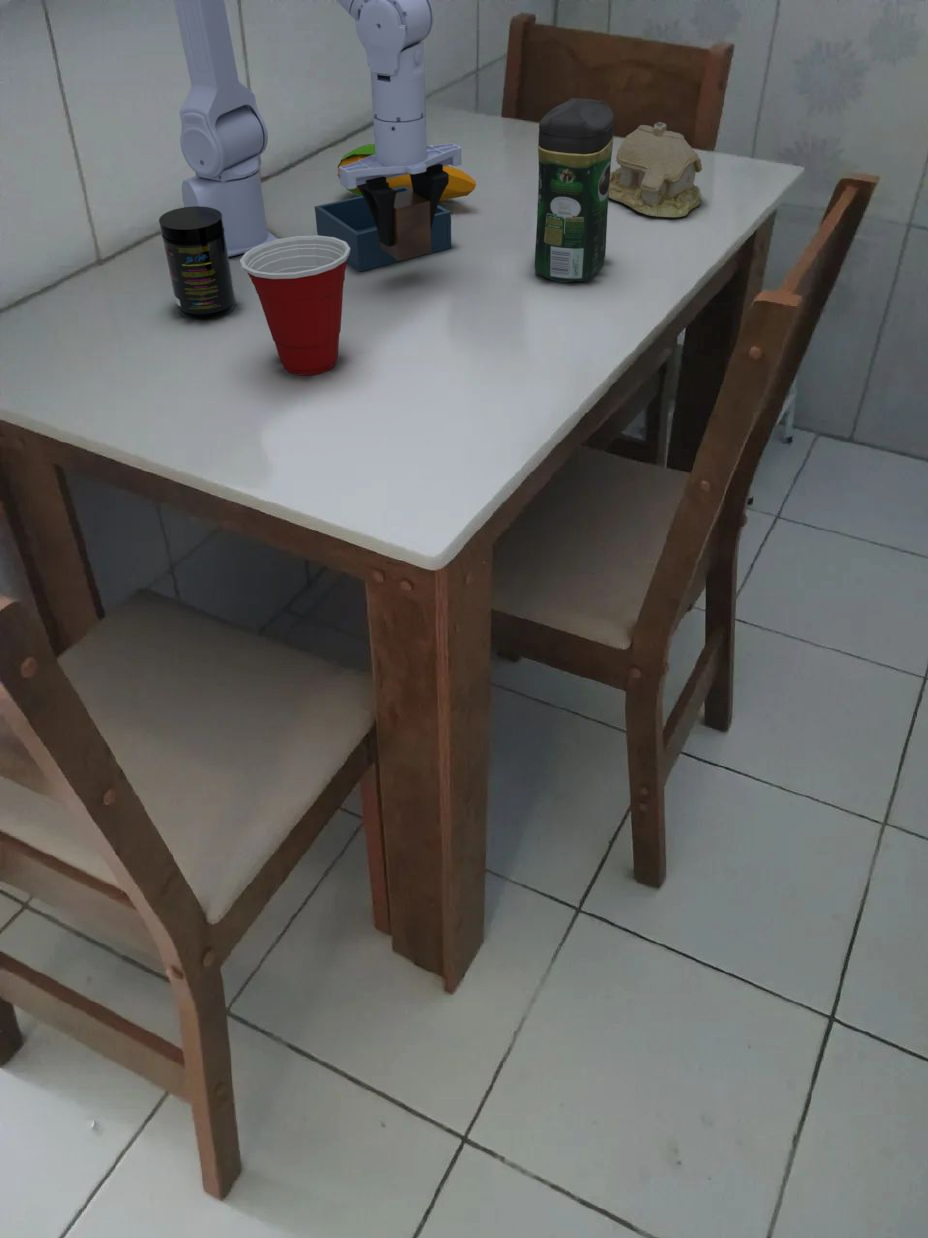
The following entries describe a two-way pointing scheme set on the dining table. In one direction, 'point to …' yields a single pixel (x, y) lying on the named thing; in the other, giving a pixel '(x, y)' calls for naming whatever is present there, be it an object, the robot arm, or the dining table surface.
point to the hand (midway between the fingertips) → (404, 238)
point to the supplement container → (198, 261)
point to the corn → (456, 187)
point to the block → (410, 226)
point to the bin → (371, 230)
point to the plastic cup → (301, 297)
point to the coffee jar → (573, 189)
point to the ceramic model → (656, 173)
